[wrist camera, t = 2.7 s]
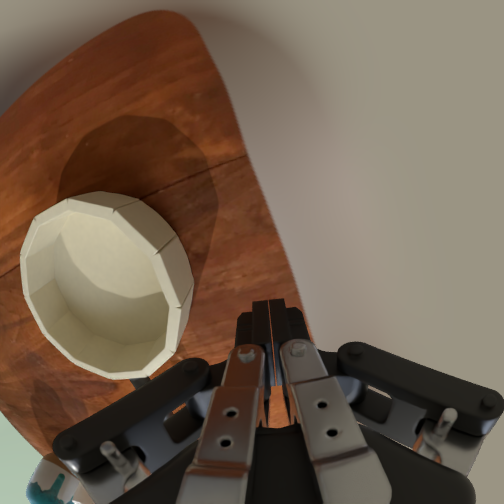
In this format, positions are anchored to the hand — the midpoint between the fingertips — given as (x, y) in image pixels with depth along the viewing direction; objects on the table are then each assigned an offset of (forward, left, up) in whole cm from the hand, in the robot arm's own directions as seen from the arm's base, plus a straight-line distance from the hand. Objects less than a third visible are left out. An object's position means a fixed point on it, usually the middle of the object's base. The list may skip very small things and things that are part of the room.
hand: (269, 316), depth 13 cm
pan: (-4, -12, -8) cm, 15 cm away
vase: (+3, -58, -8) cm, 58 cm away
